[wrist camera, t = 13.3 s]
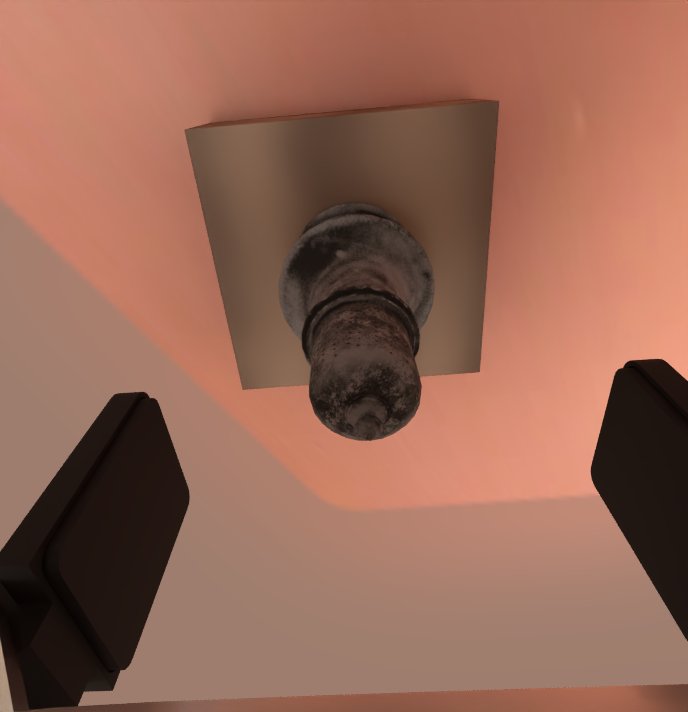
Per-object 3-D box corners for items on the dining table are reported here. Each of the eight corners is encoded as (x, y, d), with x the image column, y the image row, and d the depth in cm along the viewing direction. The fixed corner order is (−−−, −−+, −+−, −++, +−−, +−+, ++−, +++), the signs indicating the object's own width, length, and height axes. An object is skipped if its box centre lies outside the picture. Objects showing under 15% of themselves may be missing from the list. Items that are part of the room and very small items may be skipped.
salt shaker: (404, 332, 22) (461, 541, 12) (281, 315, 22) (228, 518, 12) (435, 206, 20) (545, 339, 9) (294, 183, 19) (242, 296, 9)
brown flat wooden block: (472, 99, 21) (499, 101, 18) (461, 335, 27) (479, 372, 24) (209, 123, 22) (184, 129, 18) (254, 351, 28) (242, 389, 24)
